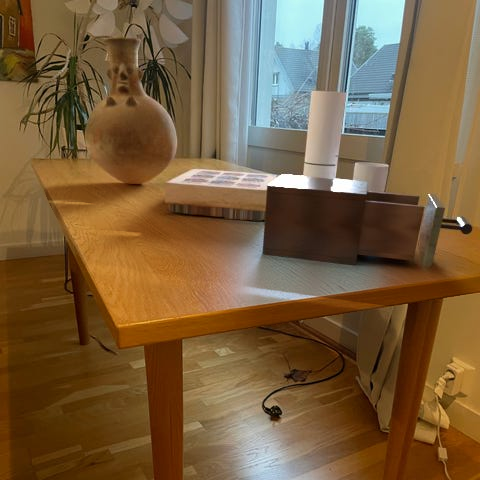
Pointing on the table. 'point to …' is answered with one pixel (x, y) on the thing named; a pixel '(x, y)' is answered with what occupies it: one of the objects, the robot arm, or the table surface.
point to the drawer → (404, 226)
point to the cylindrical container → (324, 134)
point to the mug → (371, 175)
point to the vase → (129, 122)
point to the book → (219, 193)
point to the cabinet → (314, 218)
